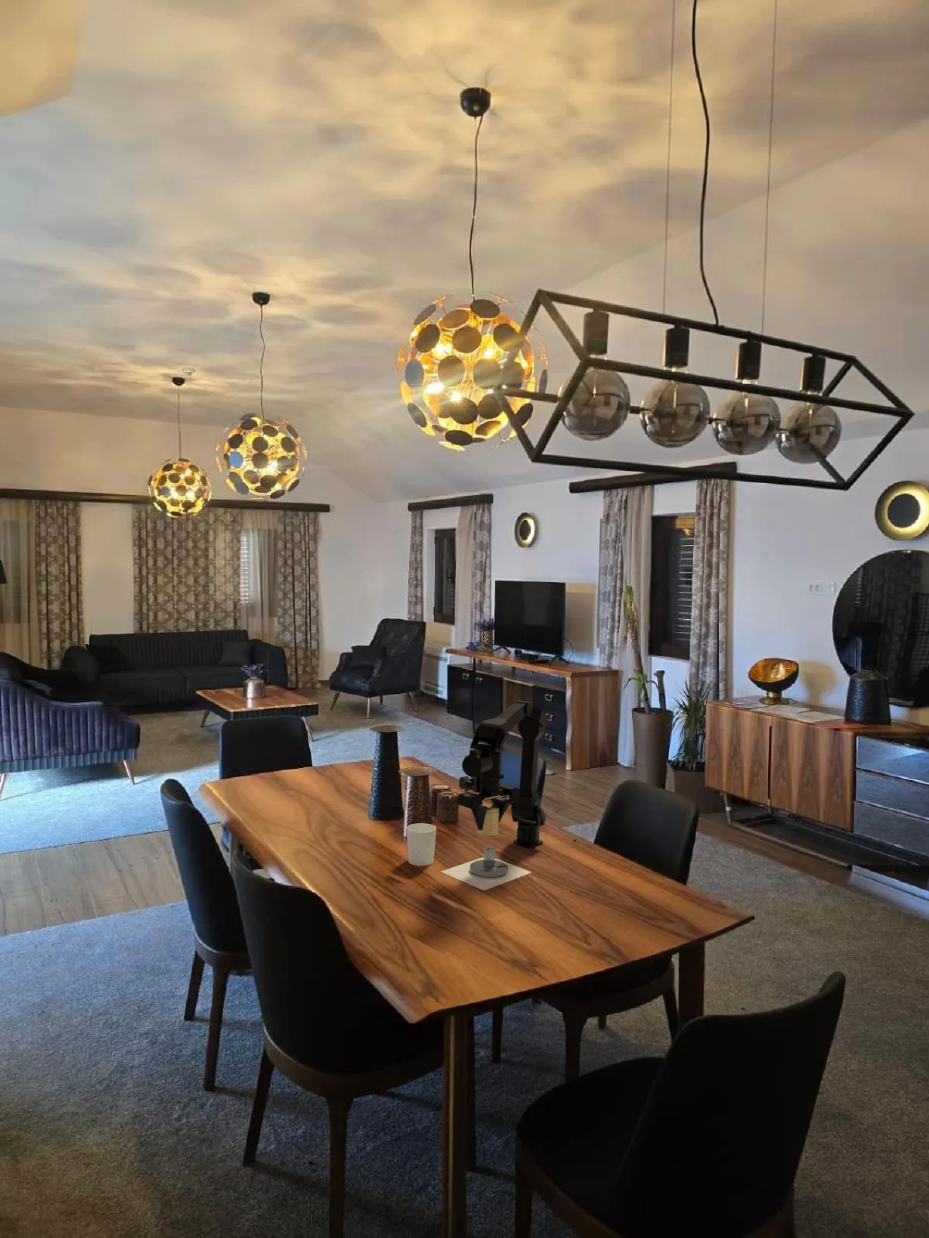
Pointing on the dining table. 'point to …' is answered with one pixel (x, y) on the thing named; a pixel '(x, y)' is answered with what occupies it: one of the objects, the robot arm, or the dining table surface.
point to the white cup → (421, 844)
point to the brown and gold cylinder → (490, 821)
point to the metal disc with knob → (489, 865)
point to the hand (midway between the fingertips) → (487, 827)
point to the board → (466, 876)
